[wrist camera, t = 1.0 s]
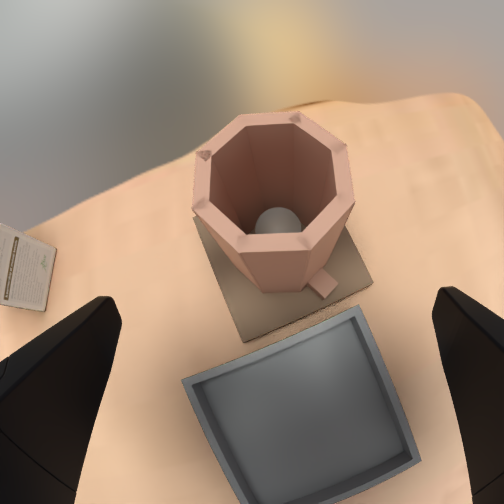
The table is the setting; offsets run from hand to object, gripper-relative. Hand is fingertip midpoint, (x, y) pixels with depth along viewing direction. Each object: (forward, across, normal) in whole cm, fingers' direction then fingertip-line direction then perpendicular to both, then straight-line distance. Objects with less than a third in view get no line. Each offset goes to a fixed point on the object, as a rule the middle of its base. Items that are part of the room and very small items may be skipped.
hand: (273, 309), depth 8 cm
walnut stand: (+12, 0, +6) cm, 14 cm away
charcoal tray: (+4, -1, +14) cm, 14 cm away
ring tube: (+12, 0, +5) cm, 13 cm away
